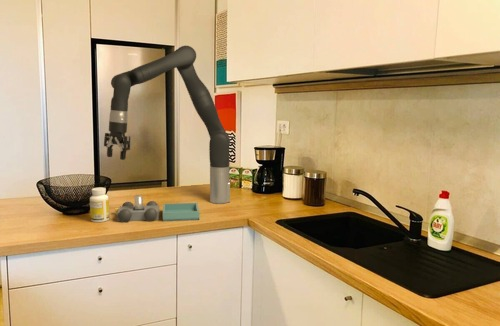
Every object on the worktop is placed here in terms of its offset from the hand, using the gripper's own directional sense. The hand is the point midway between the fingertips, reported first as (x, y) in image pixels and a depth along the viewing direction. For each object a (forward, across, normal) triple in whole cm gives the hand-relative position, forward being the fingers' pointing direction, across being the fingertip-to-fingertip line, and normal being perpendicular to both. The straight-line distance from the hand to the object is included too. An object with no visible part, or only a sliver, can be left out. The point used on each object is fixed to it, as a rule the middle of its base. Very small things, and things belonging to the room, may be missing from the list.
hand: (115, 158), depth 180 cm
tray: (+20, -32, -9) cm, 39 cm away
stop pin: (+22, -20, +3) cm, 29 cm away
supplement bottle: (+23, -10, +14) cm, 29 cm away
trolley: (+22, -19, +3) cm, 29 cm away
